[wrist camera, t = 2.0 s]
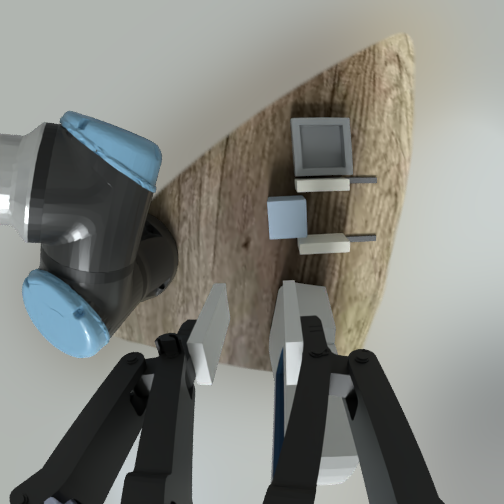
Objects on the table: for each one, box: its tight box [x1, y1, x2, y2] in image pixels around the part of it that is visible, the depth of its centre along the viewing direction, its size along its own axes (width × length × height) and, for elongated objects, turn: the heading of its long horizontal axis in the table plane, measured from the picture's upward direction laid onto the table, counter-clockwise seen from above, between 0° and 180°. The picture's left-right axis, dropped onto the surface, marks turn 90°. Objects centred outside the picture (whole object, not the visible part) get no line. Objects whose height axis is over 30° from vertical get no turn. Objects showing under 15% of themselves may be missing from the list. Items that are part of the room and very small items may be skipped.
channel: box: [295, 177, 350, 255], centre depth 38 cm, size 7×10×4 cm
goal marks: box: [346, 178, 377, 242], centre depth 40 cm, size 5×10×1 cm, turn 5°
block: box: [267, 195, 307, 239], centre depth 39 cm, size 5×5×5 cm
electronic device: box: [269, 283, 359, 485], centre depth 32 cm, size 12×8×30 cm, turn 173°
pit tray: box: [290, 118, 353, 176], centre depth 36 cm, size 8×8×3 cm
